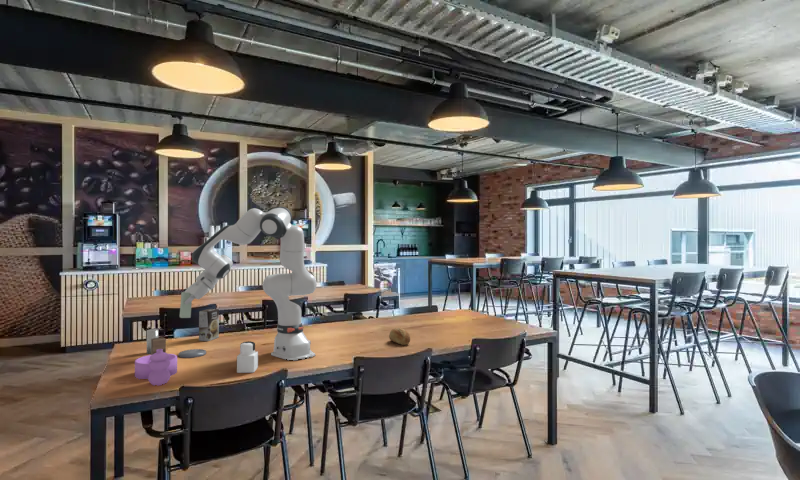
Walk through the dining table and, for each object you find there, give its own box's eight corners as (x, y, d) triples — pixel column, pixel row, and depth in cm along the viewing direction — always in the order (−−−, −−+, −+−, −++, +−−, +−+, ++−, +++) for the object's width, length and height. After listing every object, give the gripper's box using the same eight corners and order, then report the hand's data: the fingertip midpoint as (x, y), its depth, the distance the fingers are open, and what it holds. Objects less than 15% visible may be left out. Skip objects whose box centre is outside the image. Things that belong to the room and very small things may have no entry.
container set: (133, 372, 183) (134, 340, 183) (174, 366, 191) (174, 336, 191) (136, 390, 162) (137, 354, 162) (182, 382, 171) (182, 349, 170)
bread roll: (399, 347, 229) (399, 332, 228) (384, 341, 241) (384, 327, 241) (414, 345, 234) (414, 330, 234) (399, 339, 246) (399, 325, 246)
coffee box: (209, 341, 236) (209, 311, 235) (198, 340, 237) (198, 310, 237) (219, 337, 245) (219, 308, 244) (209, 336, 246) (209, 308, 246)
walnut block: (165, 358, 203) (165, 339, 203) (153, 360, 199) (153, 340, 199) (163, 356, 207) (163, 337, 206) (151, 358, 203) (151, 338, 203)
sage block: (190, 317, 212) (192, 292, 212) (181, 317, 209) (183, 292, 210) (188, 316, 215) (190, 292, 216) (179, 317, 212) (181, 292, 213)
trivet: (209, 355, 209) (209, 352, 209) (182, 359, 201) (182, 357, 201) (201, 349, 218) (201, 347, 218) (175, 353, 210) (175, 351, 210)
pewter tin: (159, 353, 212) (159, 330, 212) (147, 354, 209) (147, 331, 208) (157, 350, 216) (157, 328, 215) (145, 352, 212) (145, 329, 212)
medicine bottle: (241, 367, 190) (241, 340, 190) (258, 367, 191) (258, 340, 191) (236, 373, 183) (236, 344, 183) (253, 372, 184) (254, 344, 183)
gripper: (194, 277, 225) (173, 297, 218) (206, 278, 209) (183, 300, 202) (203, 285, 228) (183, 305, 221) (215, 287, 212) (194, 309, 205)
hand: (183, 303), depth 212 cm, fingers closed on sage block, 4 cm apart
